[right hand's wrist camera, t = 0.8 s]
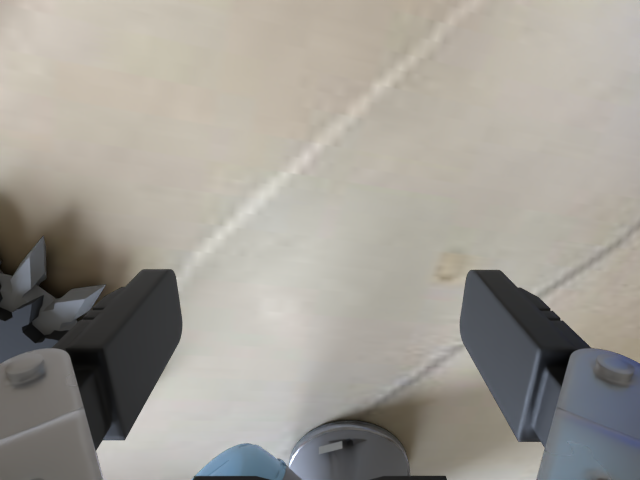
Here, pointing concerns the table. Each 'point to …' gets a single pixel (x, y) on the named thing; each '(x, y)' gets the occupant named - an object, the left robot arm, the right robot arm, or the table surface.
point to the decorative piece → (37, 307)
